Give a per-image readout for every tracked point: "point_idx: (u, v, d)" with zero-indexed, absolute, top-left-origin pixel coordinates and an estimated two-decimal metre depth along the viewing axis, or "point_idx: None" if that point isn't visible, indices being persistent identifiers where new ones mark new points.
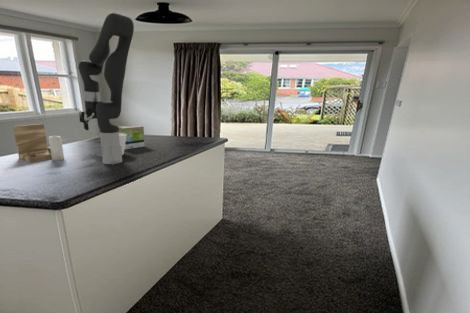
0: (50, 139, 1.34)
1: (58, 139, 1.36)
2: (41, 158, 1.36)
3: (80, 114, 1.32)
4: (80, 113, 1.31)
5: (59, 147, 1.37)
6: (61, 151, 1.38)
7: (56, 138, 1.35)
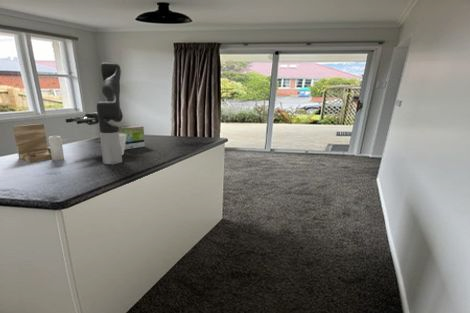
0: (50, 139, 1.34)
1: (58, 139, 1.36)
2: (41, 158, 1.36)
3: None
4: None
5: (59, 147, 1.37)
6: (61, 151, 1.38)
7: (56, 138, 1.35)
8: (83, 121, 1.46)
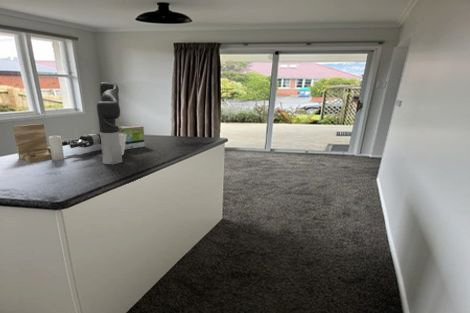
0: (50, 139, 1.34)
1: (59, 139, 1.36)
2: (41, 158, 1.36)
3: None
4: None
5: (59, 147, 1.37)
6: (61, 151, 1.38)
7: (56, 138, 1.35)
8: (77, 145, 1.44)
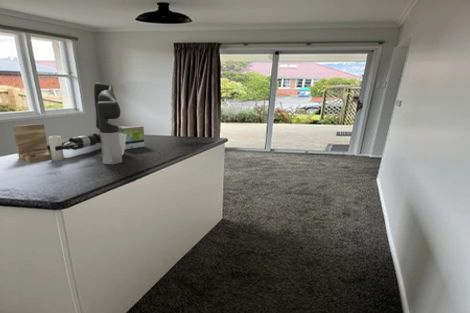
0: (50, 139, 1.34)
1: (58, 139, 1.36)
2: (41, 158, 1.36)
3: None
4: None
5: None
6: (61, 151, 1.38)
7: (56, 138, 1.35)
8: (63, 147, 1.37)
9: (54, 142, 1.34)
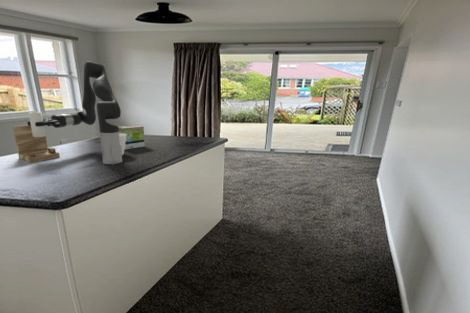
0: (30, 114, 1.31)
1: (39, 115, 1.33)
2: (41, 158, 1.36)
3: None
4: None
5: None
6: (42, 127, 1.35)
7: (36, 113, 1.32)
8: (43, 123, 1.34)
9: (34, 118, 1.32)
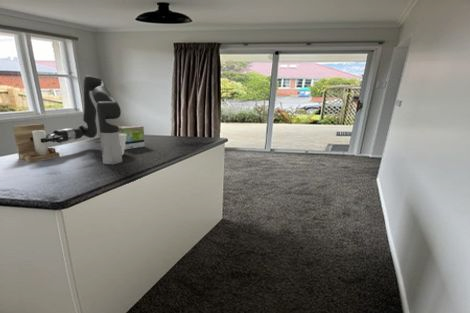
0: (34, 133, 1.34)
1: (42, 133, 1.36)
2: (41, 158, 1.36)
3: None
4: None
5: None
6: (45, 146, 1.38)
7: (40, 132, 1.35)
8: (48, 139, 1.37)
9: (38, 136, 1.34)
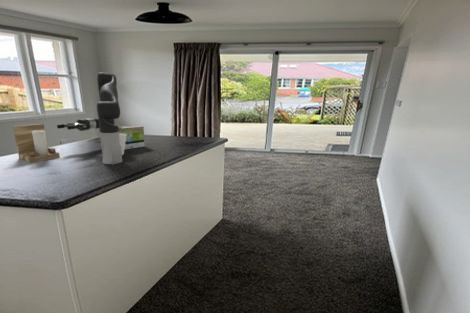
0: (33, 134, 1.34)
1: (42, 134, 1.35)
2: (41, 158, 1.36)
3: None
4: None
5: (43, 142, 1.36)
6: (45, 146, 1.38)
7: (40, 133, 1.34)
8: (74, 127, 1.49)
9: (38, 137, 1.34)
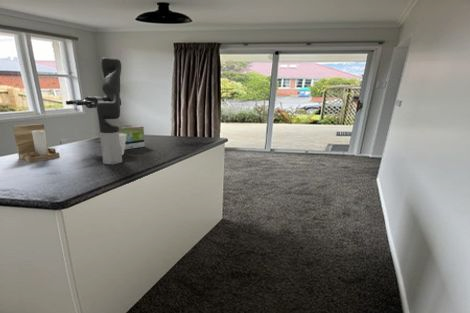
0: (33, 134, 1.34)
1: (42, 134, 1.36)
2: (41, 158, 1.36)
3: None
4: None
5: (43, 142, 1.36)
6: (45, 146, 1.38)
7: (39, 133, 1.34)
8: (83, 103, 1.51)
9: (37, 137, 1.34)
